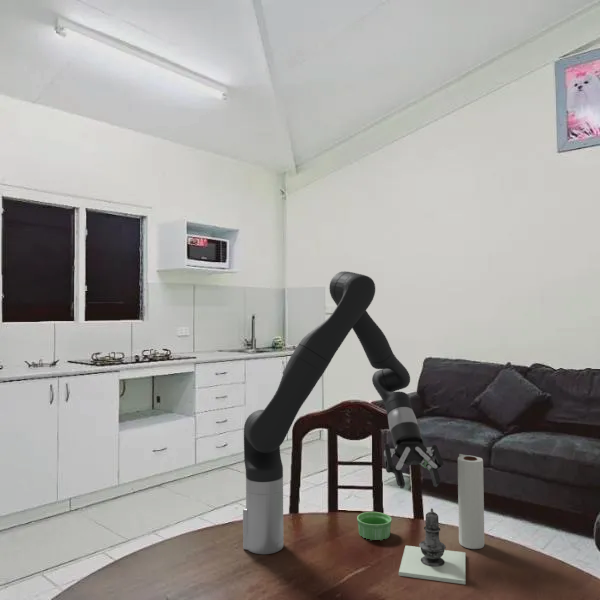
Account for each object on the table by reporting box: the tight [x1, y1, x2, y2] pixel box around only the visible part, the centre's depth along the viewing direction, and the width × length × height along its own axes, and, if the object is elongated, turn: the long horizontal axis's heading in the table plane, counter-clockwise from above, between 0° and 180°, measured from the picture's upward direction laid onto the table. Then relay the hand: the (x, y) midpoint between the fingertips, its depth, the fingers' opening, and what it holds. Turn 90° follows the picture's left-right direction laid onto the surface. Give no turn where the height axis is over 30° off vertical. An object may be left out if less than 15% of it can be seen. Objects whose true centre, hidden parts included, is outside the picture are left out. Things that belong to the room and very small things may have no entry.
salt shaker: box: [418, 507, 447, 567], centre depth 123 cm, size 6×6×12 cm
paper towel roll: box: [457, 453, 485, 550], centre depth 134 cm, size 7×6×21 cm
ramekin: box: [356, 511, 392, 541], centre depth 140 cm, size 9×9×4 cm
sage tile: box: [398, 545, 466, 585], centre depth 123 cm, size 14×14×1 cm
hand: (419, 486), depth 131 cm, fingers open, 8 cm apart
